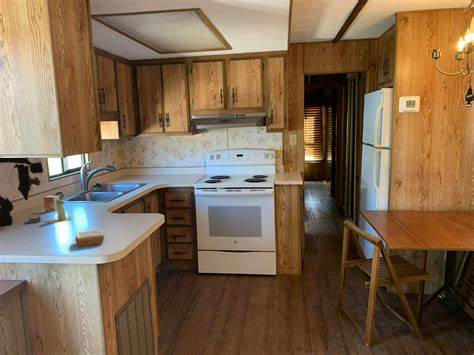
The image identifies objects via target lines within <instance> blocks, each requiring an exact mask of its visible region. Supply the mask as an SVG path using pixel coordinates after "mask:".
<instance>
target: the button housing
mask: <svg viewBox="0 0 474 355" xmlns="http://www.w3.org/2000/svg"><path fill="white" fill-rule="evenodd" d="M36 216H39V217H37V218H31V217H36ZM41 222H42V218H41V215H31V216H28V224H35V223H41Z"/></svg>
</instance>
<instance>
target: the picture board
mask: <svg viewBox="0 0 474 355" xmlns="http://www.w3.org/2000/svg"><path fill="white" fill-rule="evenodd" d="M68 221H69V222H70V221H72V219H71V216H68V217H67V216H66V220H61V221H59V220H58V216H56V218H54V219H49V220H44V221H41V222H42V223H43V224H50V223H51V224H52V223H62V222H68Z"/></svg>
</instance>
